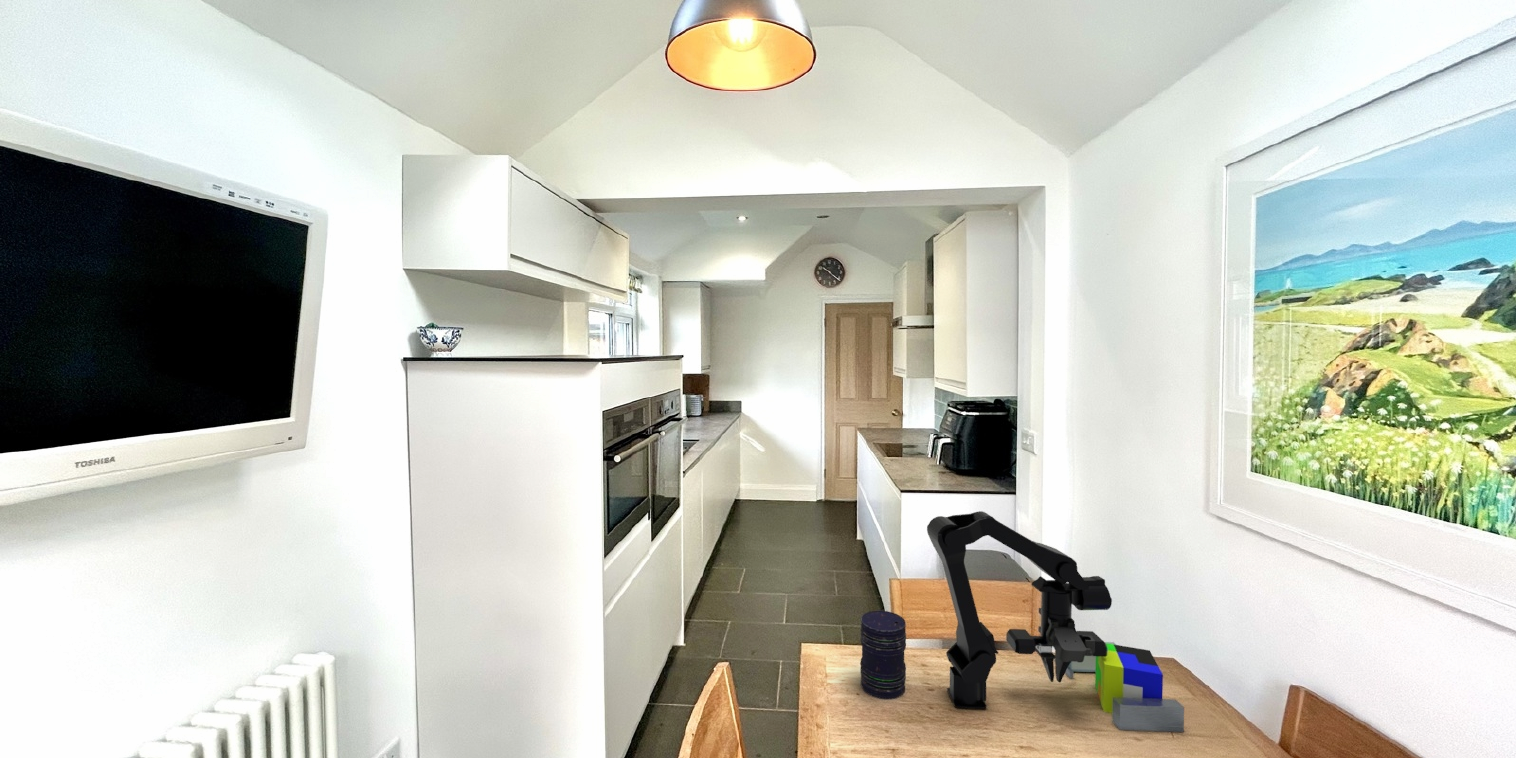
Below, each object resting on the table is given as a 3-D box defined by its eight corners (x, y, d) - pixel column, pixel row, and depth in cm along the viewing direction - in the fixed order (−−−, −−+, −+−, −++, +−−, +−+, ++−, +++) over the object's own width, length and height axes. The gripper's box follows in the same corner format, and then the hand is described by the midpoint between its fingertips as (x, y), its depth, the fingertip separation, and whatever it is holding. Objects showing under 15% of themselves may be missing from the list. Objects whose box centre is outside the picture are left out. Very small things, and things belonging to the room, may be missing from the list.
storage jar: (856, 693, 121) (856, 626, 121) (864, 670, 131) (864, 607, 130) (903, 704, 118) (903, 634, 117) (908, 678, 127) (908, 614, 126)
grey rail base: (1113, 729, 109) (1114, 704, 109) (1054, 660, 134) (1054, 640, 134) (1189, 732, 108) (1190, 707, 108) (1115, 662, 133) (1116, 642, 133)
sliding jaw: (1069, 671, 129) (1070, 646, 129) (1064, 665, 132) (1064, 640, 132) (1123, 673, 128) (1124, 647, 128) (1117, 667, 131) (1117, 641, 131)
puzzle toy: (1161, 723, 111) (1162, 674, 111) (1103, 711, 115) (1104, 664, 115) (1148, 695, 120) (1149, 650, 120) (1095, 685, 124) (1096, 641, 124)
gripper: (1027, 626, 112) (1025, 702, 112) (1123, 629, 110) (1122, 706, 111) (1005, 602, 123) (1004, 671, 123) (1093, 604, 122) (1092, 674, 122)
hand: (1054, 681), depth 120 cm, fingers closed
